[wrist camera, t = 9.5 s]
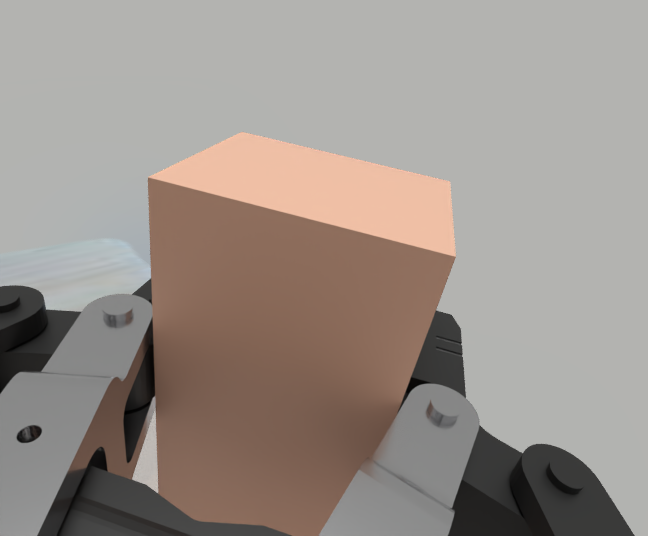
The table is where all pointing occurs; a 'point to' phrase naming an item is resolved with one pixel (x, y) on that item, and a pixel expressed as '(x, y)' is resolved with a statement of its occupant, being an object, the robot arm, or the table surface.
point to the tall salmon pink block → (285, 322)
